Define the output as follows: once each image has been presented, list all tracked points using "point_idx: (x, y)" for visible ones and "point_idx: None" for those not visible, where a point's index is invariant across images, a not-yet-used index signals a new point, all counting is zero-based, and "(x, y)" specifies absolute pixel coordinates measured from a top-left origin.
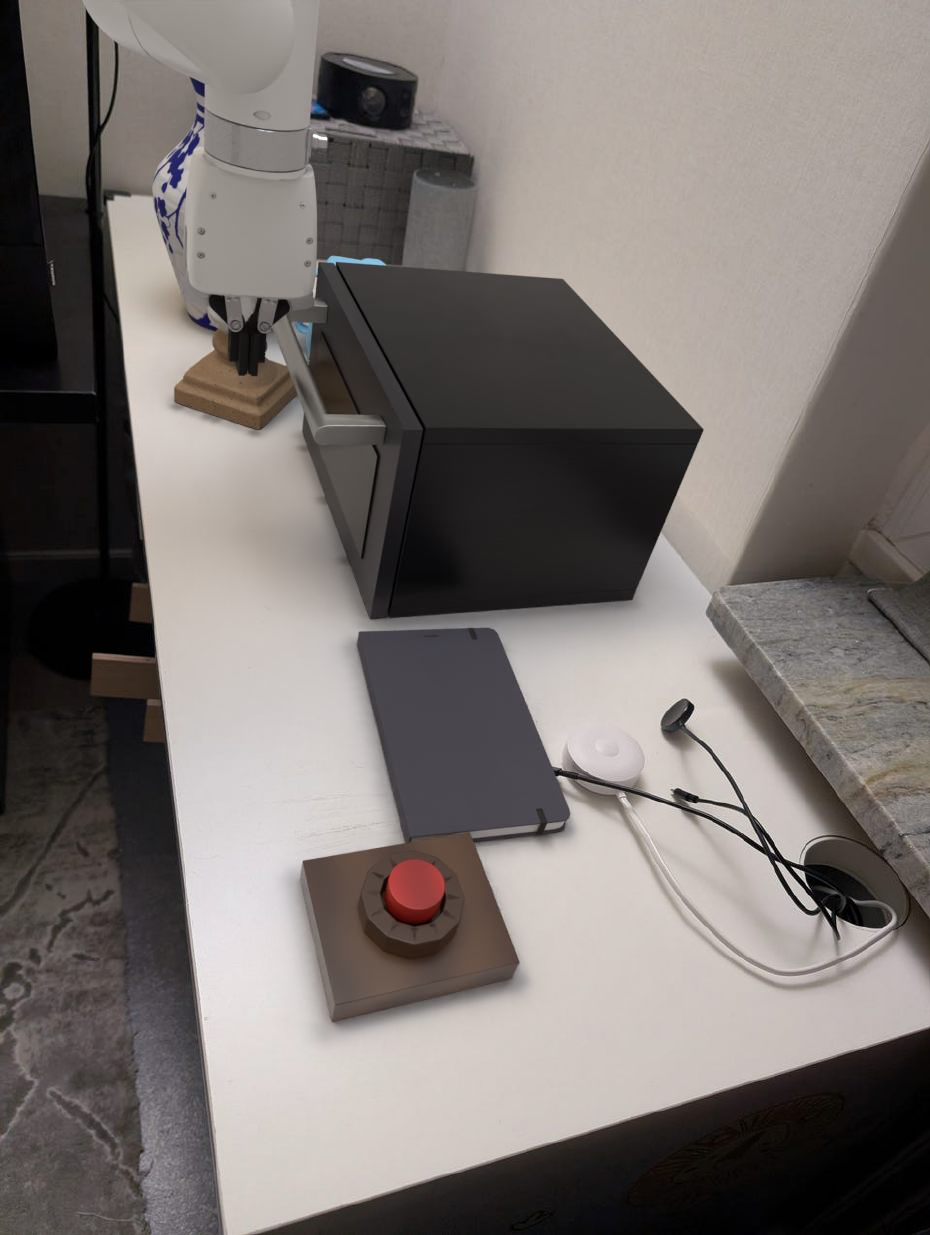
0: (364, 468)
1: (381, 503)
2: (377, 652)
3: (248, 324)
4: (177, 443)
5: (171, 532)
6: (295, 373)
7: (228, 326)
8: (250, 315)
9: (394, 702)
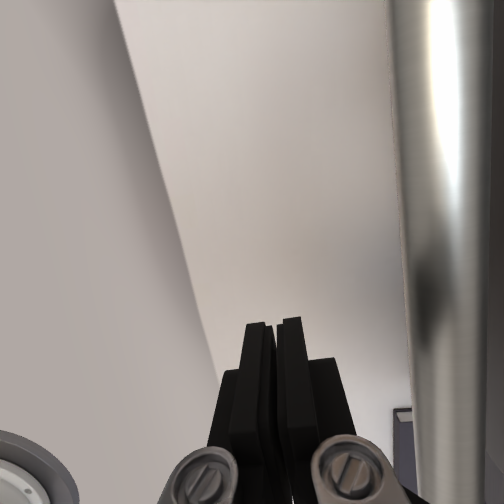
0: (497, 423)
1: (498, 497)
2: (412, 445)
3: (289, 466)
4: (178, 48)
5: (205, 264)
6: (431, 460)
7: (207, 446)
8: (299, 501)
9: (414, 490)
